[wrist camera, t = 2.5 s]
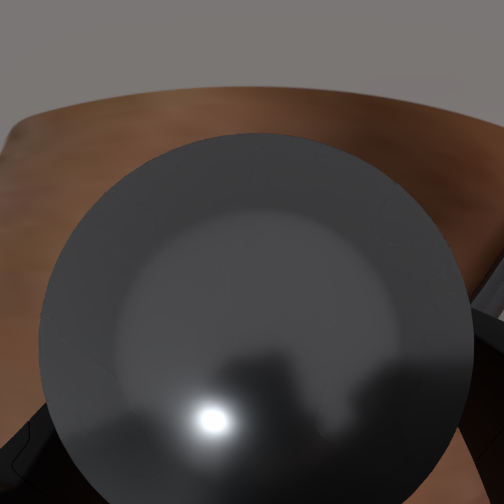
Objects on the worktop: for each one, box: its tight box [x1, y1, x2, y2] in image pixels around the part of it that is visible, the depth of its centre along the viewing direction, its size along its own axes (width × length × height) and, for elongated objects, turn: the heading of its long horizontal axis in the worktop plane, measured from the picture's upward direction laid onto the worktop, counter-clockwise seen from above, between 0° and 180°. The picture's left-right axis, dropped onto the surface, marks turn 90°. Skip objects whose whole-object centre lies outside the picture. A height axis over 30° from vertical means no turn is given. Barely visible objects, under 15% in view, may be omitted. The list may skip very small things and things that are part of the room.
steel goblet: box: [39, 133, 474, 504], centre depth 10 cm, size 7×7×14 cm
